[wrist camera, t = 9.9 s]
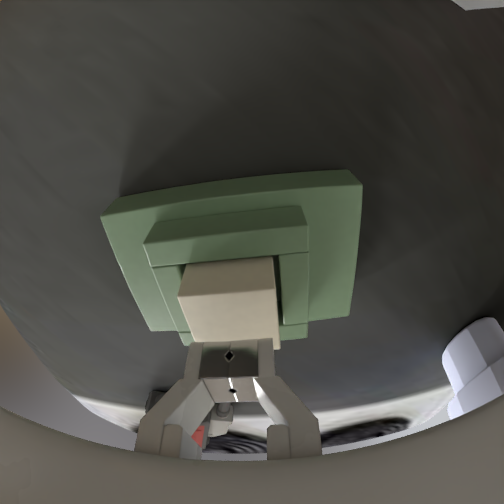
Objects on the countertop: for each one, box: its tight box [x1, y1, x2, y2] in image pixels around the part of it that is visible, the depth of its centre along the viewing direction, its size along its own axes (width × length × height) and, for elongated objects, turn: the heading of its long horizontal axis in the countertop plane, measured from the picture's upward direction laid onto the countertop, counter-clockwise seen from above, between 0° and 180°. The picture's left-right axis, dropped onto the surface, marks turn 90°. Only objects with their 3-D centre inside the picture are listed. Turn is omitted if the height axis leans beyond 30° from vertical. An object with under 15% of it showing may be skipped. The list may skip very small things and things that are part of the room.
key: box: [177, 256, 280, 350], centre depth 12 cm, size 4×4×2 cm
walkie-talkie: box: [145, 391, 233, 449], centre depth 25 cm, size 9×4×20 cm
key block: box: [100, 169, 363, 346], centre depth 14 cm, size 12×8×4 cm, turn 97°
